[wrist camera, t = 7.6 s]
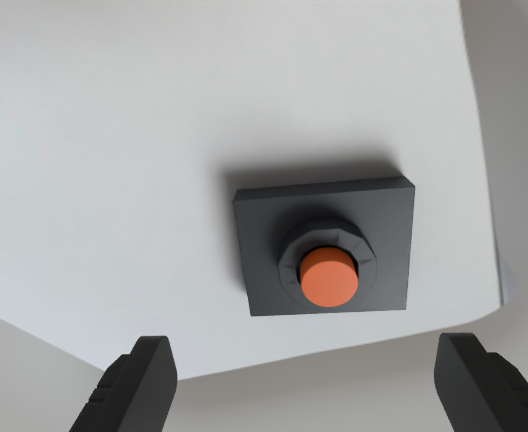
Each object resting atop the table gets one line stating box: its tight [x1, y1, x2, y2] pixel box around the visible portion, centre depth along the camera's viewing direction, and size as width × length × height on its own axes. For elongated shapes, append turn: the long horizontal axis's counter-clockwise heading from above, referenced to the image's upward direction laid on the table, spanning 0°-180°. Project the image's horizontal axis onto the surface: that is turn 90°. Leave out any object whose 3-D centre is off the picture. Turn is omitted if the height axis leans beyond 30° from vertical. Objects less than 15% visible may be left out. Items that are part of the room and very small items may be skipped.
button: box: [300, 247, 358, 307], centre depth 22 cm, size 4×4×2 cm
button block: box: [233, 176, 415, 316], centre depth 24 cm, size 12×10×4 cm
